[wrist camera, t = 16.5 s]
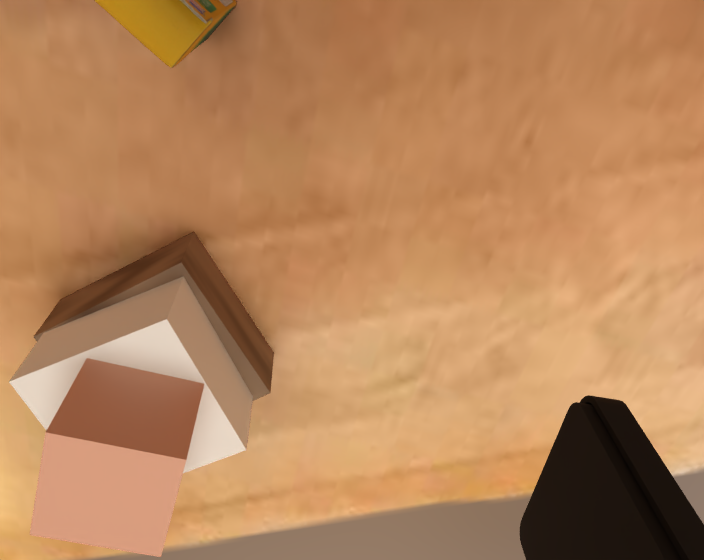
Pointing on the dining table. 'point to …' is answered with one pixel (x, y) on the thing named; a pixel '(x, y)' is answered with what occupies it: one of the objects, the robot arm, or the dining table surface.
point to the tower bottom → (207, 288)
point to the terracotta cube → (115, 458)
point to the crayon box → (169, 23)
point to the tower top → (147, 363)
